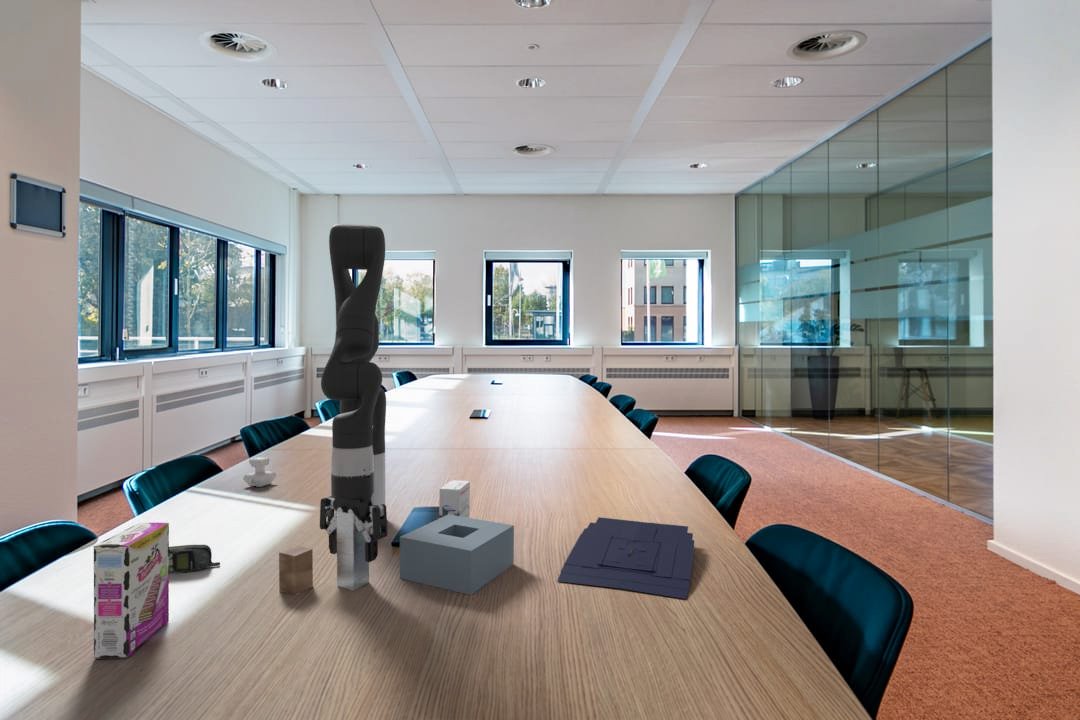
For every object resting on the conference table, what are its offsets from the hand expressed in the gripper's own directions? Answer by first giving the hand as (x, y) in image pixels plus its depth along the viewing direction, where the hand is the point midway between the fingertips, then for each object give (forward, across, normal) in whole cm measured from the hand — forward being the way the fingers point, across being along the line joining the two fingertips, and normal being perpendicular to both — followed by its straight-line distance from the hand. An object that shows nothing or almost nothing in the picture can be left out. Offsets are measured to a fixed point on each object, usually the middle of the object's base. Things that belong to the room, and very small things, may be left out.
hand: (353, 556), depth 110 cm
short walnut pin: (+5, -8, -6) cm, 11 cm away
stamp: (+5, -77, +42) cm, 88 cm away
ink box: (+5, +1, +32) cm, 32 cm away
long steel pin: (+5, 0, 0) cm, 5 cm away
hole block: (+5, +14, +14) cm, 20 cm away
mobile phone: (+6, -35, -11) cm, 37 cm away
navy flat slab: (+6, +43, +34) cm, 55 cm away
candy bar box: (+6, -15, -30) cm, 34 cm away
